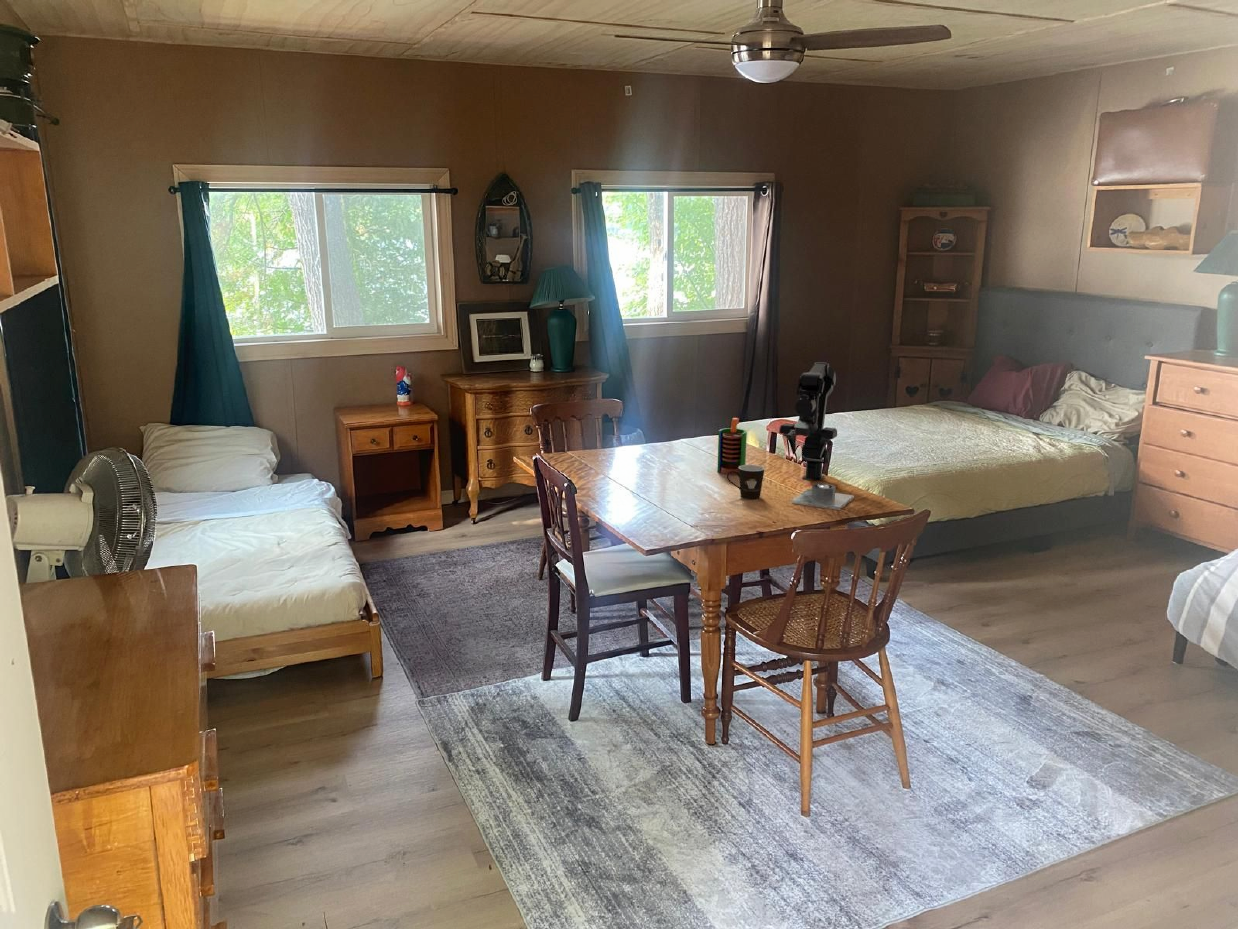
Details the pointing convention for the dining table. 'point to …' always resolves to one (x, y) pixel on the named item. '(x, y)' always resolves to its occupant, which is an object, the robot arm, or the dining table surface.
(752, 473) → the coffee mug
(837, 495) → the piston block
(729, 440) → the motor
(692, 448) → the dining table surface
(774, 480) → the dining table surface
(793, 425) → the robot arm
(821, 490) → the octagonal hollow lampshade
